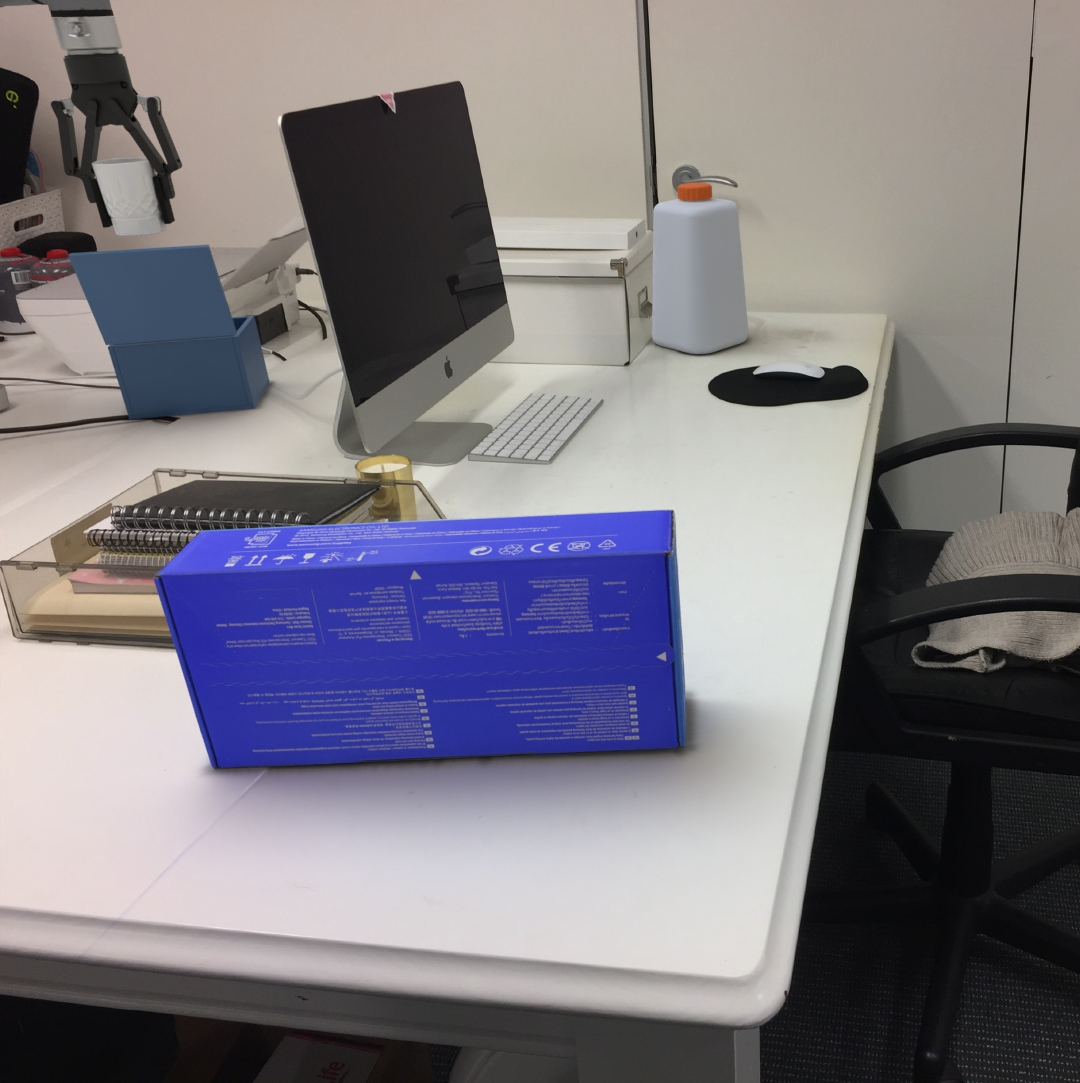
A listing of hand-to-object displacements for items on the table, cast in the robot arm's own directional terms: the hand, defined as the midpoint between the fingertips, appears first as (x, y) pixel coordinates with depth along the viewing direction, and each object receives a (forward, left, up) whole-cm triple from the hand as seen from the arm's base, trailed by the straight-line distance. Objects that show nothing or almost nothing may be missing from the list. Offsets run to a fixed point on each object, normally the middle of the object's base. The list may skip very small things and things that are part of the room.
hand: (139, 224), depth 152 cm
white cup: (0, 0, -1) cm, 1 cm away
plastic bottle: (+71, +51, -29) cm, 92 cm away
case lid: (+2, -3, -10) cm, 10 cm away
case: (-1, +5, -29) cm, 29 cm away
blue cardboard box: (+81, -67, -29) cm, 110 cm away
